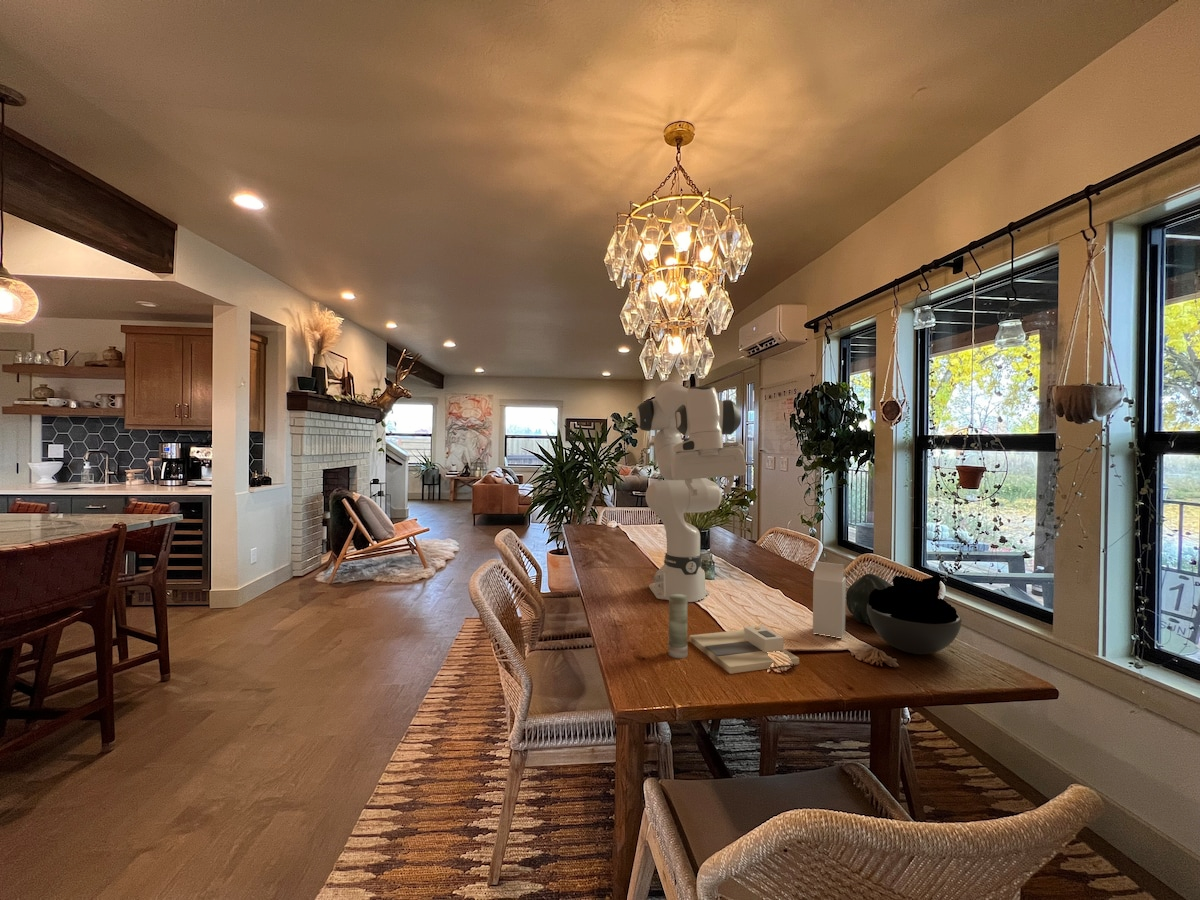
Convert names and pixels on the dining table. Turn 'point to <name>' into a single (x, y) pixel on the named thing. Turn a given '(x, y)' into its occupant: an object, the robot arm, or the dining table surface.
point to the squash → (863, 595)
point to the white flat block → (734, 651)
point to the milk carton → (829, 599)
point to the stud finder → (763, 638)
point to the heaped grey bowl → (913, 615)
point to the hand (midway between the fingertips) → (710, 494)
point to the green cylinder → (678, 626)
